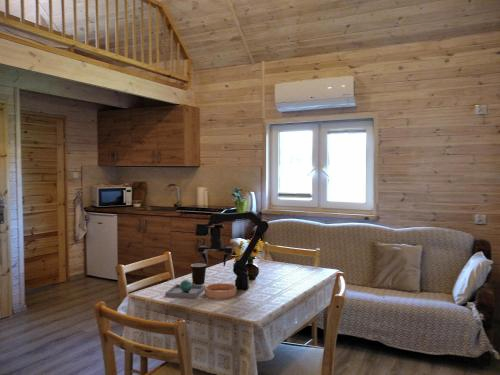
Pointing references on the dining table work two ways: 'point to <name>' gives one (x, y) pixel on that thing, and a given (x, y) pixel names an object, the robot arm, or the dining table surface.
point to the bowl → (220, 290)
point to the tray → (177, 292)
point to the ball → (185, 286)
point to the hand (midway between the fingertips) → (215, 265)
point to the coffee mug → (198, 273)
